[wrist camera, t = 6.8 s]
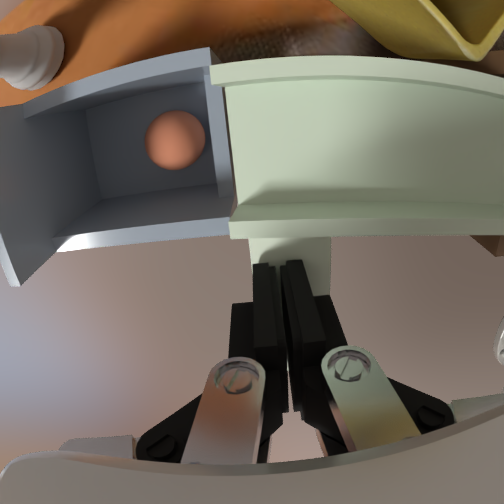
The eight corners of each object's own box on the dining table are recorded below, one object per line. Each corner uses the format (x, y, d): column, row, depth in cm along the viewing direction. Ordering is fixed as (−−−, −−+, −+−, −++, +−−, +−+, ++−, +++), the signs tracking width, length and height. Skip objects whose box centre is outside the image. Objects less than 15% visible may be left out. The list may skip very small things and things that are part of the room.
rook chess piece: (33, 103, 15) (-57, 121, 8) (11, 59, 13) (-74, 63, 6) (78, 57, 14) (-13, 48, 7) (54, 14, 12) (-31, -6, 5)
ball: (192, 174, 13) (138, 179, 14) (217, 160, 16) (168, 165, 17) (183, 107, 12) (128, 119, 13) (211, 104, 14) (161, 113, 15)
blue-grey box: (240, 190, 18) (224, 274, 9) (99, 208, 18) (10, 286, 10) (226, 68, 14) (192, 27, 6) (79, 101, 15) (-35, 118, 7)
